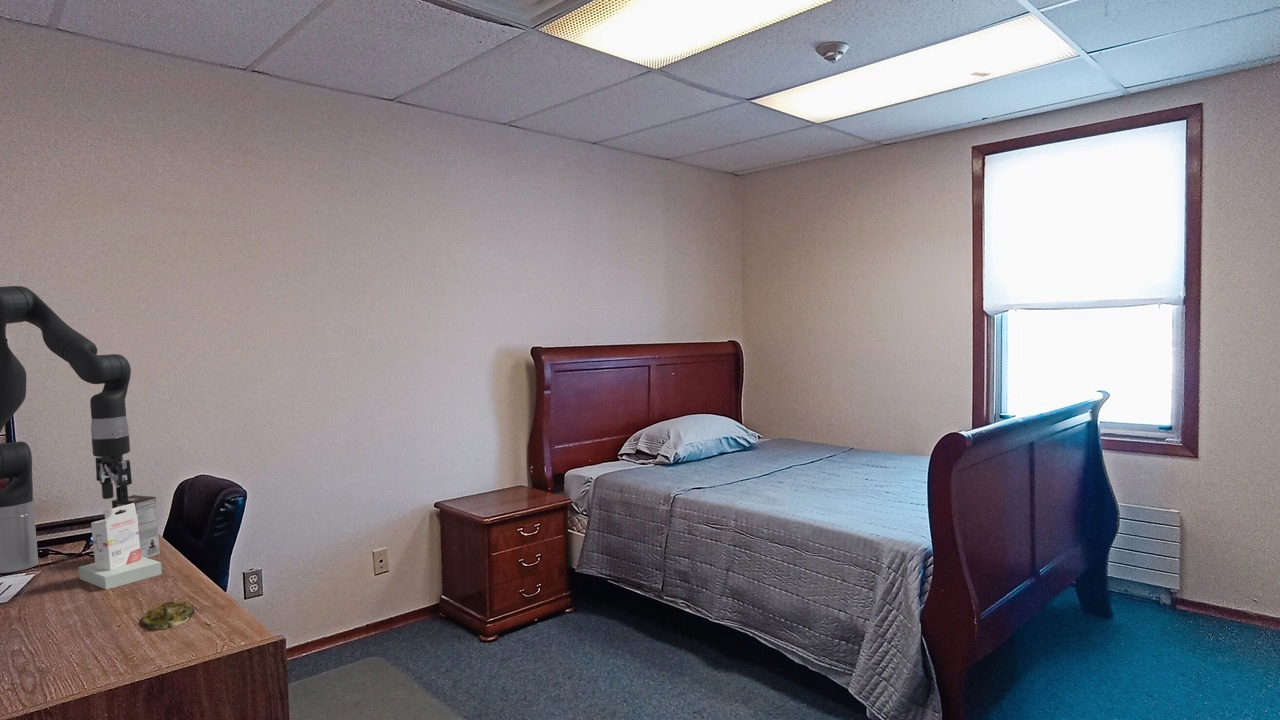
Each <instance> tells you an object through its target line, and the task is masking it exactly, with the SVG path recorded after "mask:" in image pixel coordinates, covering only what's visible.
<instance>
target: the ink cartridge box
mask: <svg viewBox="0 0 1280 720" xmlns="http://www.w3.org/2000/svg"><path fill="white" fill-rule="evenodd" d="M119 510H126V512H124V513H121V514H118V515H115V513H116V512H118V511H119ZM90 524H91V536H92V545H93V556H94V563H95V567H96V569H99V570H112V569H115V568H118V567H120V566H123V565H126V564H129V563H132V562H135V561H137V560H140V559H141V551H140V540H139V529H138V518H137V514H136V508H135V504H134V503H131V504H128V505H123V506H120V507H116V508H113V509H112V508H110V509H105V510H104V519H101V520H96V521H93V522H91V523H90Z"/></svg>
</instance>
